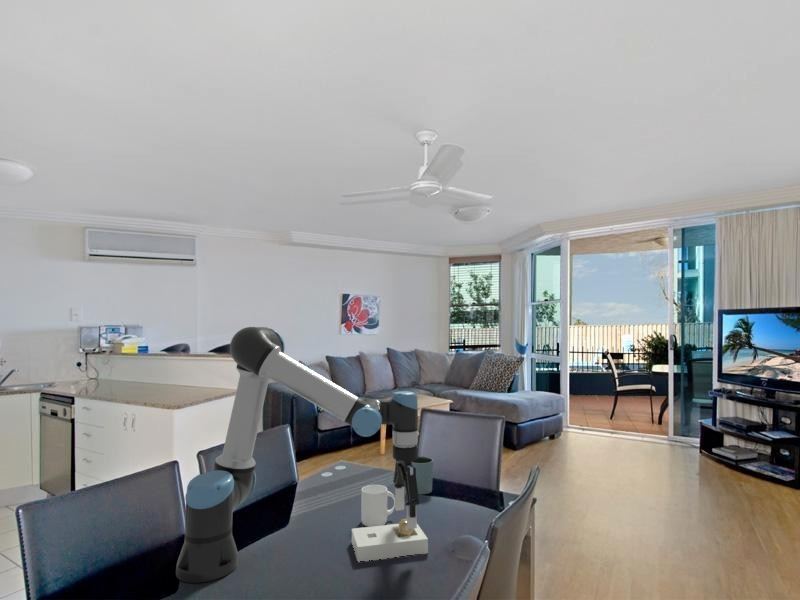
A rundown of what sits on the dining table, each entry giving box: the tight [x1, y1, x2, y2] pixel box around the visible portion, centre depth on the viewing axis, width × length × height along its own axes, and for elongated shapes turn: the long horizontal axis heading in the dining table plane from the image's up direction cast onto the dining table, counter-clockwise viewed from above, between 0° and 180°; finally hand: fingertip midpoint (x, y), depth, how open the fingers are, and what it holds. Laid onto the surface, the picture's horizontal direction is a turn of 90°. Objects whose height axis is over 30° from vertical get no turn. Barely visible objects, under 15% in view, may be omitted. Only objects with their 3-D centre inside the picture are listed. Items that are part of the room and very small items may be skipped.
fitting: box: [398, 518, 413, 537], centre depth 130 cm, size 4×4×7 cm
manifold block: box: [351, 523, 429, 563], centre depth 129 cm, size 20×12×4 cm, turn 104°
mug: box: [360, 484, 395, 527], centre depth 148 cm, size 9×12×11 cm
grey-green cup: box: [411, 456, 434, 495], centre depth 177 cm, size 10×10×12 cm
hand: (405, 518), depth 131 cm, fingers open, 13 cm apart
